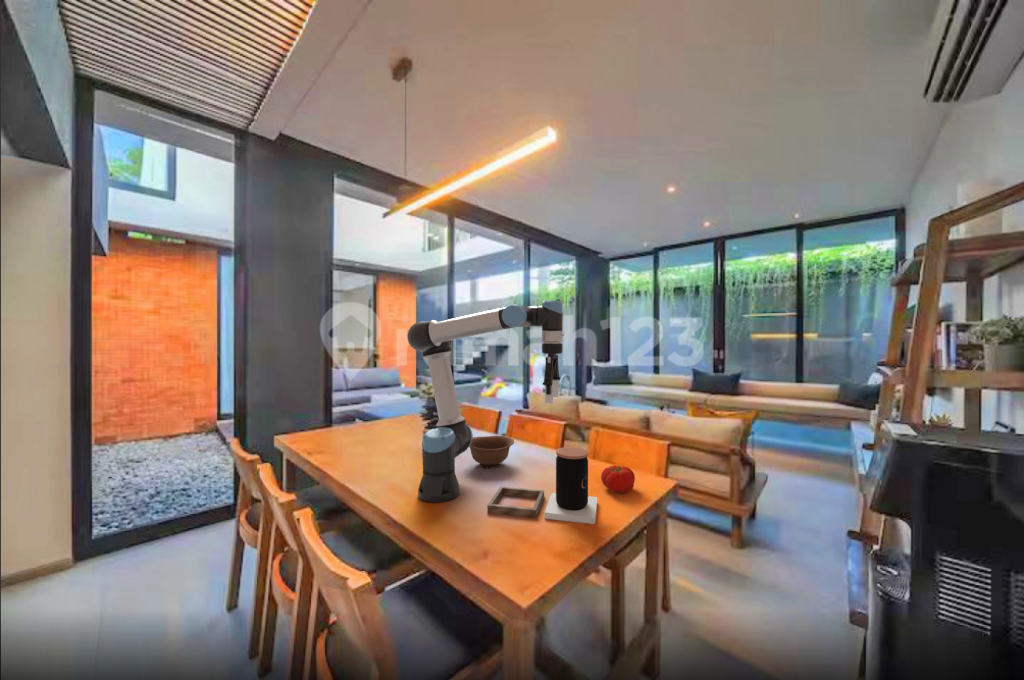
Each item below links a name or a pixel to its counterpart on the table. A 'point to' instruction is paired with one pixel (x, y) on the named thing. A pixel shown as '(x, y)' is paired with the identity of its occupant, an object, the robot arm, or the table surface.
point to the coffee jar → (572, 478)
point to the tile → (572, 511)
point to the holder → (512, 509)
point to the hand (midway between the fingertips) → (551, 400)
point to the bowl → (490, 450)
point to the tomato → (618, 479)
